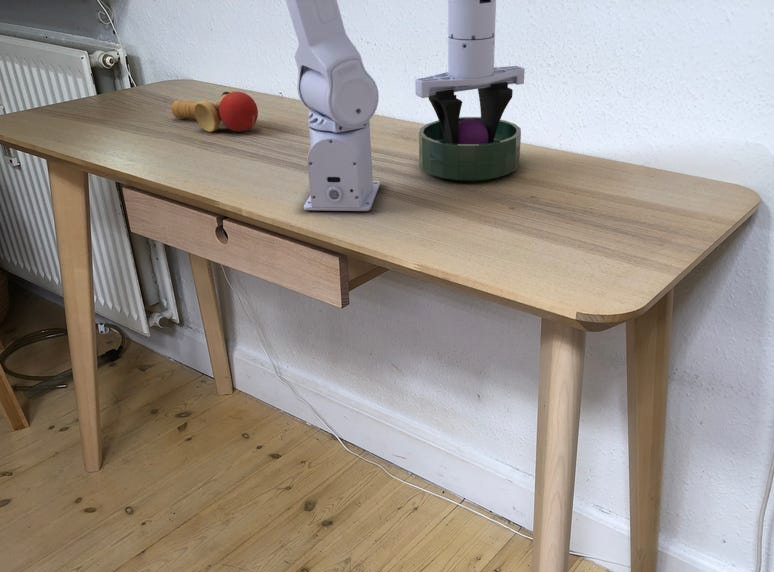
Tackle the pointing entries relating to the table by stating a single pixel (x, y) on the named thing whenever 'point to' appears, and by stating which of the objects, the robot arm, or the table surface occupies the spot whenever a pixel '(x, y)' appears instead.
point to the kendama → (220, 111)
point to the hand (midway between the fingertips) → (469, 146)
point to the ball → (472, 132)
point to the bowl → (469, 154)
